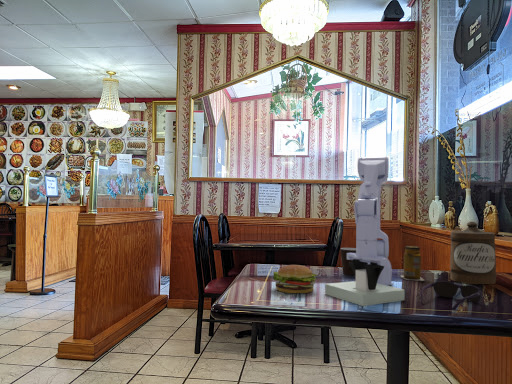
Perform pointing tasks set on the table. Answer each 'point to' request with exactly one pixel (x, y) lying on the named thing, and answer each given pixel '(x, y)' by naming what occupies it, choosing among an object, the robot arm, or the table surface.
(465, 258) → the wooden container
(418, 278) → the condiment
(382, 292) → the pale green square slab
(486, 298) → the table surface
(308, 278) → the food
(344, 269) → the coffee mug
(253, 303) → the table surface
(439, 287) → the sunglasses
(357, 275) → the block
